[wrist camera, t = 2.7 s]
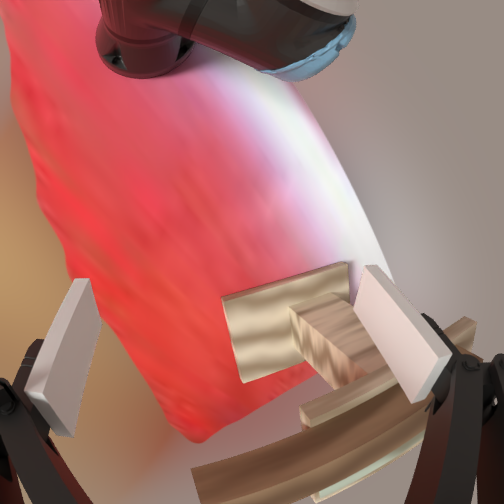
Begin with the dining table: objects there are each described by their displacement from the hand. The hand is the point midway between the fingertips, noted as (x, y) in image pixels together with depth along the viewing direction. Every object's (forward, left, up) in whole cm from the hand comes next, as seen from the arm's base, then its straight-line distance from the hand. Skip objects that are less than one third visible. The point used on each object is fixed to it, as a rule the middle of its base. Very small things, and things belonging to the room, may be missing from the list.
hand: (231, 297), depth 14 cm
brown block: (+16, +8, -3) cm, 19 cm away
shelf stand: (+21, +15, -32) cm, 41 cm away
